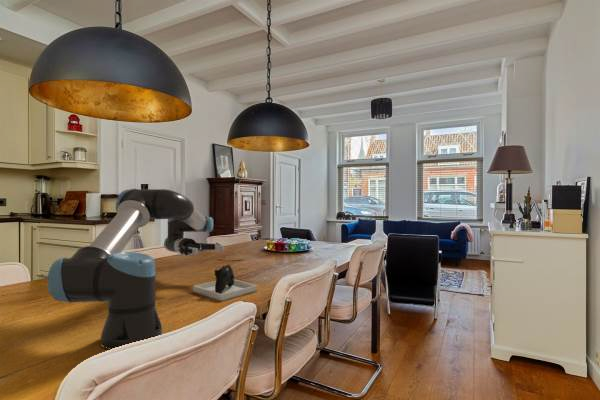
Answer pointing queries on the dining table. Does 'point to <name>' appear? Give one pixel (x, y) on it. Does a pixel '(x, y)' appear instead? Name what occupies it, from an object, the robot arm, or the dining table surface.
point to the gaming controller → (224, 278)
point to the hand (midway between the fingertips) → (211, 250)
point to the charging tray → (225, 290)
